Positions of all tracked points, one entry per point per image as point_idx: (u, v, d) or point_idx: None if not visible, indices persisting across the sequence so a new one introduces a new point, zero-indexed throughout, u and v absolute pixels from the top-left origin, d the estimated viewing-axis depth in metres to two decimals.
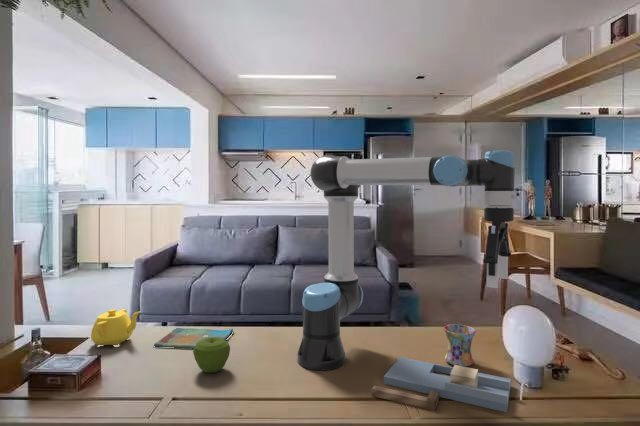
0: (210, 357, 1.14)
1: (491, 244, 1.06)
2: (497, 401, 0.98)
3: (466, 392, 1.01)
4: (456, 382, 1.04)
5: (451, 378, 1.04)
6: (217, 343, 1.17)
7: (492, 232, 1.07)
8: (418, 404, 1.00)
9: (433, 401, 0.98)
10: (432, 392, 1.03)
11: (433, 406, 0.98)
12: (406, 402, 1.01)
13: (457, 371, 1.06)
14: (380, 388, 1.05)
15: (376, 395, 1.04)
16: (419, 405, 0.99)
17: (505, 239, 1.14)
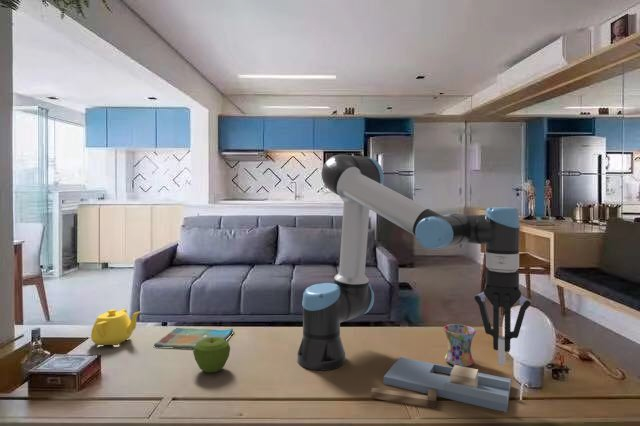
0: (210, 357, 1.14)
1: None
2: (497, 401, 0.98)
3: (466, 392, 1.01)
4: (456, 382, 1.04)
5: (451, 378, 1.04)
6: (217, 343, 1.17)
7: None
8: (419, 403, 1.00)
9: (434, 399, 1.00)
10: (430, 390, 1.04)
11: (434, 404, 0.99)
12: (407, 402, 1.01)
13: (457, 371, 1.06)
14: (379, 390, 1.04)
15: (376, 397, 1.03)
16: (420, 404, 1.00)
17: None
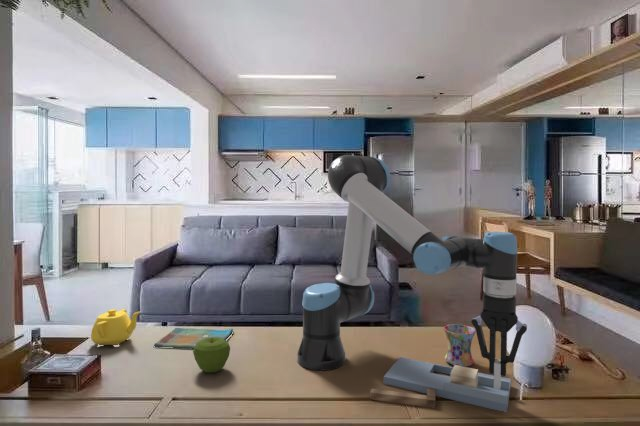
0: (210, 357, 1.14)
1: None
2: (497, 401, 0.98)
3: (466, 392, 1.01)
4: (456, 382, 1.04)
5: (451, 378, 1.04)
6: (217, 343, 1.17)
7: None
8: (419, 403, 1.00)
9: (433, 399, 1.00)
10: (429, 390, 1.04)
11: (434, 404, 0.99)
12: (406, 402, 1.01)
13: (457, 371, 1.06)
14: (378, 391, 1.04)
15: (375, 398, 1.03)
16: (420, 404, 1.00)
17: (501, 334, 1.00)
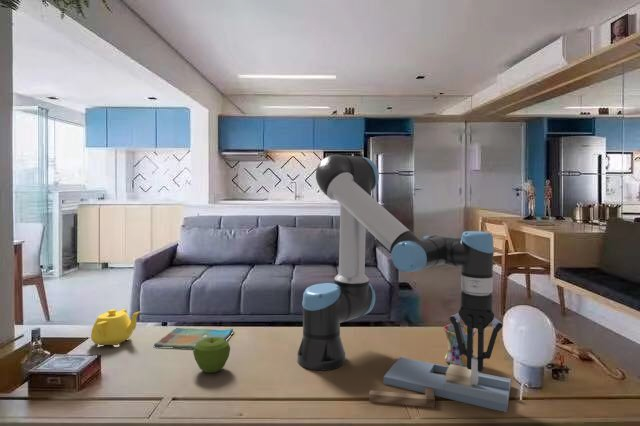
0: (210, 357, 1.14)
1: None
2: (497, 401, 0.98)
3: (466, 392, 1.01)
4: (451, 381, 1.04)
5: (446, 377, 1.05)
6: (217, 343, 1.17)
7: None
8: (418, 403, 1.00)
9: (433, 398, 1.00)
10: (427, 389, 1.04)
11: (433, 403, 0.99)
12: (406, 403, 1.00)
13: (453, 370, 1.06)
14: (377, 392, 1.03)
15: (374, 400, 1.02)
16: (419, 404, 1.00)
17: None
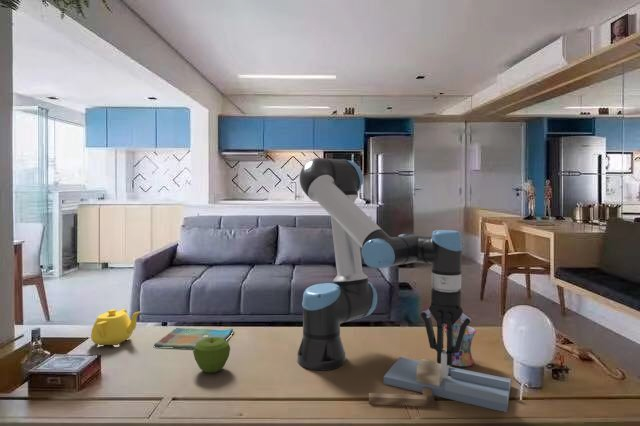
0: (210, 357, 1.14)
1: None
2: (497, 401, 0.98)
3: (466, 392, 1.01)
4: (422, 375, 1.08)
5: (417, 371, 1.08)
6: (217, 343, 1.17)
7: None
8: (418, 404, 1.00)
9: (432, 398, 1.00)
10: (425, 389, 1.05)
11: (433, 403, 1.00)
12: (406, 404, 1.00)
13: (424, 364, 1.10)
14: (376, 394, 1.02)
15: (374, 402, 1.01)
16: (419, 404, 1.00)
17: None
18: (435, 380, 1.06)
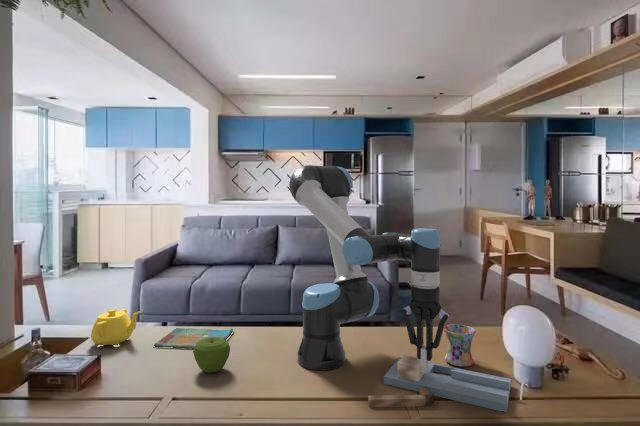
0: (210, 357, 1.14)
1: None
2: (497, 401, 0.98)
3: (466, 392, 1.01)
4: (402, 370, 1.10)
5: (398, 367, 1.11)
6: (217, 343, 1.17)
7: None
8: (417, 403, 1.00)
9: (431, 397, 1.00)
10: (422, 388, 1.05)
11: (432, 402, 1.00)
12: (406, 404, 1.00)
13: (405, 360, 1.12)
14: (376, 397, 1.01)
15: (374, 405, 1.00)
16: (418, 404, 1.00)
17: None
18: (415, 376, 1.09)
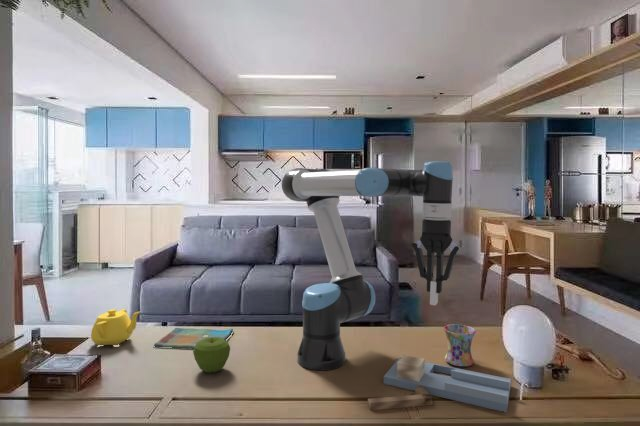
0: (210, 357, 1.14)
1: None
2: (497, 401, 0.98)
3: (466, 392, 1.01)
4: (402, 370, 1.10)
5: (398, 367, 1.11)
6: (217, 343, 1.17)
7: None
8: (417, 404, 1.00)
9: (429, 396, 1.01)
10: (418, 388, 1.05)
11: (431, 401, 1.00)
12: (405, 405, 0.99)
13: (405, 360, 1.12)
14: (376, 399, 0.99)
15: (375, 408, 0.98)
16: (418, 404, 1.00)
17: None
18: (415, 376, 1.09)
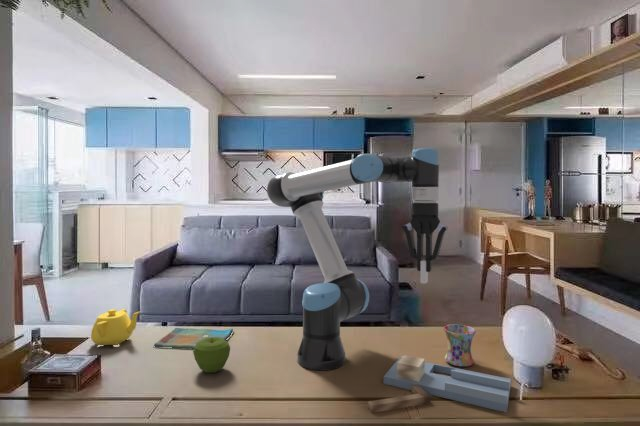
0: (210, 357, 1.14)
1: None
2: (497, 401, 0.98)
3: (466, 392, 1.01)
4: (402, 370, 1.10)
5: (398, 367, 1.11)
6: (217, 343, 1.17)
7: None
8: (416, 403, 1.00)
9: (427, 395, 1.02)
10: (415, 387, 1.06)
11: (429, 399, 1.01)
12: (405, 405, 0.99)
13: (405, 360, 1.12)
14: (376, 401, 0.98)
15: (376, 410, 0.97)
16: (417, 404, 1.00)
17: None
18: (415, 376, 1.09)
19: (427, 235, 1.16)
